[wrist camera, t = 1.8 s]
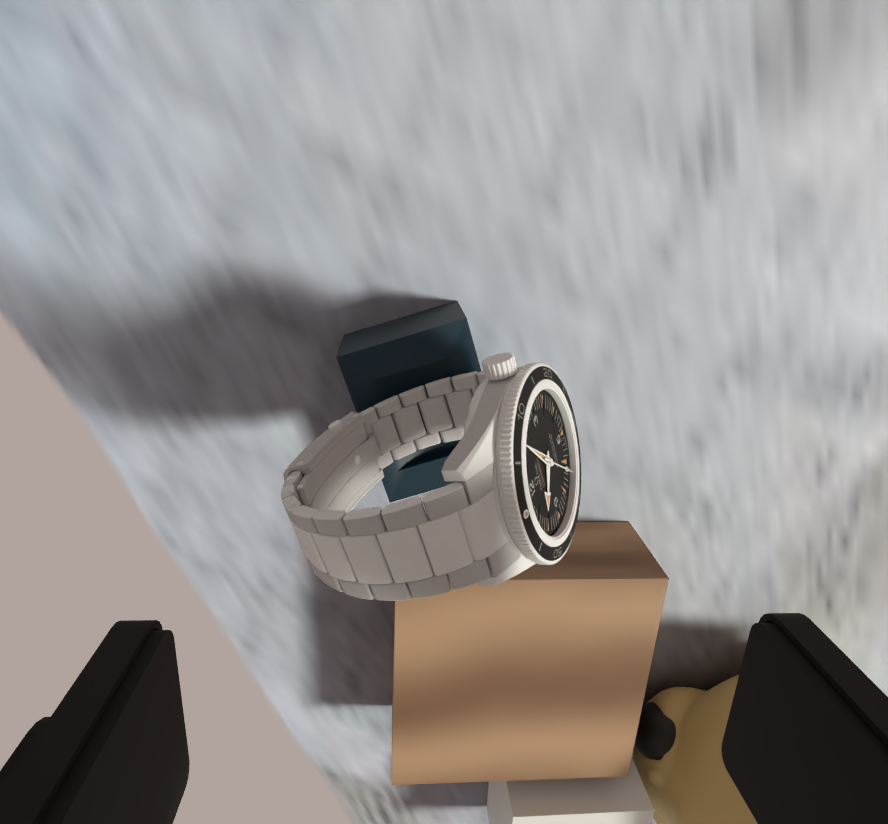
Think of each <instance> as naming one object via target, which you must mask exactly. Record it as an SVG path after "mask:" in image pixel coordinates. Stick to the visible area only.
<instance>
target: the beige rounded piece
mask: <svg viewBox="0 0 888 824" xmlns="http://www.w3.org/2000/svg"><path fill="white" fill-rule="evenodd" d="M738 677H739V675H737V676H734V677H732V678H729V679H727V680H725V681H723V682H722V683H720V684H718V685H717V686H715V687H713V688H711V689H709V690H708V691H705V690H701V689H696V688H690V687H673V688H668V689H665V690H663V691H661V692H659V693H658V694H657V695H655V696H654V697H653V698H652V699H650V700H649V701H648V702H647V703H646V704H644V705H642V710H641V715H640V720H639V724H638V729H637V734H636V739H635V744H634V748H633V755H634V763H635V766H636V768H637V770H638V773H639V775H640V778H641V780H642V782H643V785H644V787H645V790H646V792H647V794H648V797H649V799H650V802H651V804H652V806H653V809H654V810H655V811H654V817H653V819H654V820H655V821H656V823H657V824H758V823H757V822H756V820H755V818H754V816H753V815H752V813H751V811H750V810H749V808H748V806H747V804H746V803H745V801H744V799H743V798H742V796H741V794H740V792H739V791H738V789H737V787H736V786H735V784H734V782H733V780H732V779H731V777H730V775H729V774H728V772H727V770H726V768H725V765H724V762H723V758H722V752H721V746H722V741H723V737H724V733H725V729H726V725H727V721H728V717H729V713H730V709H731V705H732V701H733V697H734V693H735V689H736V685H737V681H738Z"/></svg>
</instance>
